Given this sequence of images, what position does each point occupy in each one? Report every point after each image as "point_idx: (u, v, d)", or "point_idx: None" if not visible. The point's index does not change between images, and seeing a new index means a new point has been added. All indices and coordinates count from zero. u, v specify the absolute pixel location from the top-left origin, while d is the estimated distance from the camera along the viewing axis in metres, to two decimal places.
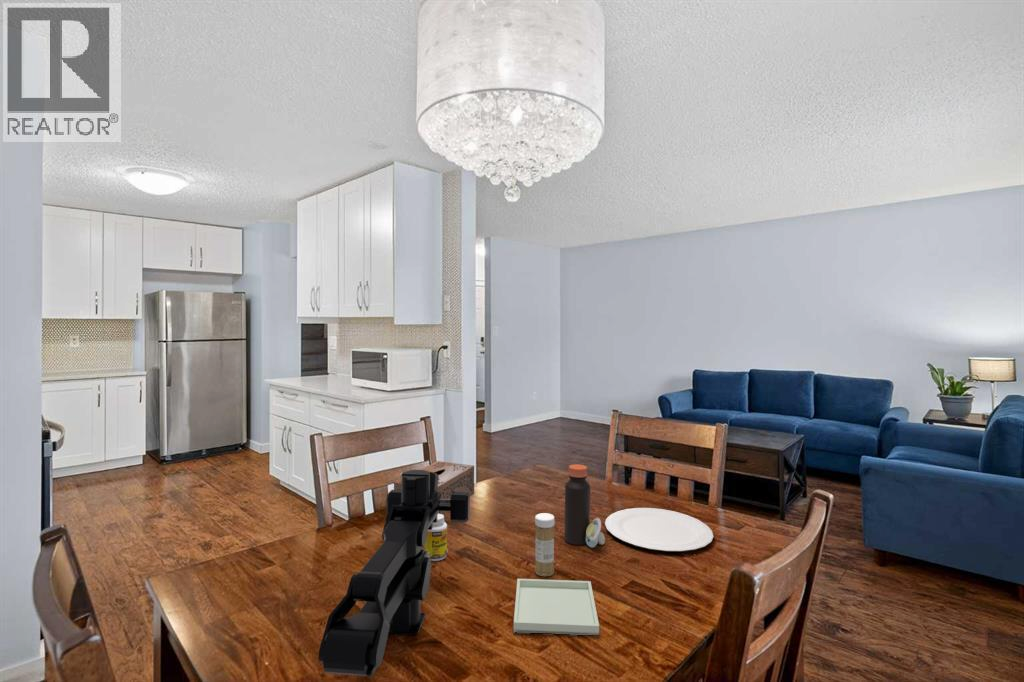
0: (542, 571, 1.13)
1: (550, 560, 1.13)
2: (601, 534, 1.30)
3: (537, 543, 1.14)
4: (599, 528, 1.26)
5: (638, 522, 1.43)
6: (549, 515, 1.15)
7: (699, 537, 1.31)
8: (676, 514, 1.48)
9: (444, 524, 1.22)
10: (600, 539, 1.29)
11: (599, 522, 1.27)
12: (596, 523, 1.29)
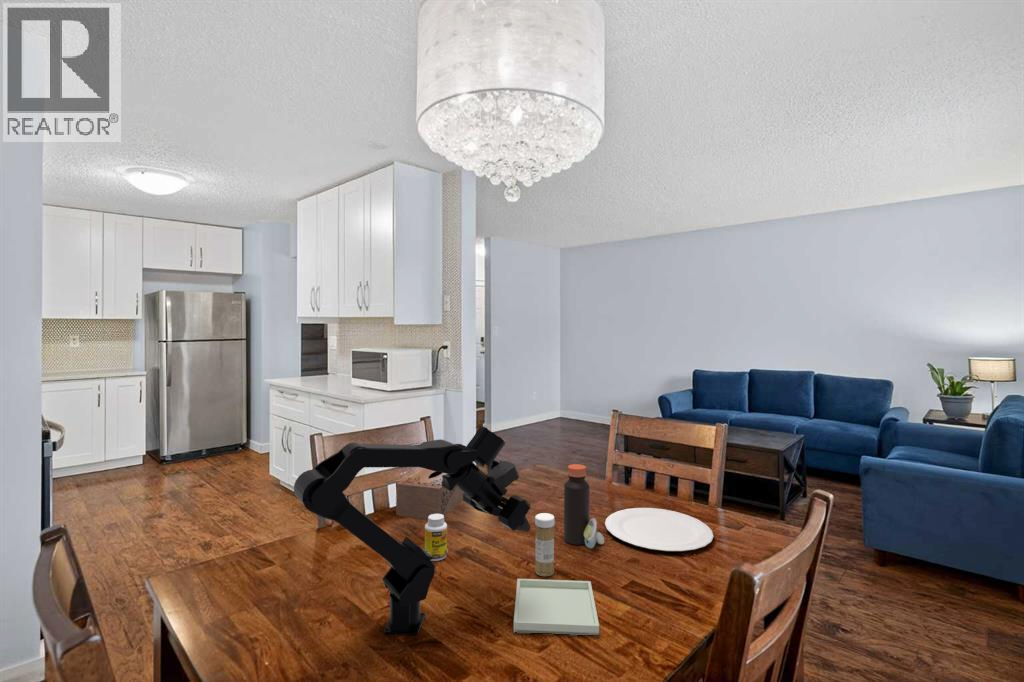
0: (542, 571, 1.13)
1: (550, 560, 1.13)
2: (599, 534, 1.30)
3: (537, 543, 1.14)
4: (595, 527, 1.27)
5: (638, 522, 1.43)
6: (549, 515, 1.15)
7: (699, 537, 1.31)
8: (676, 514, 1.48)
9: (444, 524, 1.22)
10: (599, 539, 1.29)
11: (594, 521, 1.28)
12: (592, 523, 1.30)
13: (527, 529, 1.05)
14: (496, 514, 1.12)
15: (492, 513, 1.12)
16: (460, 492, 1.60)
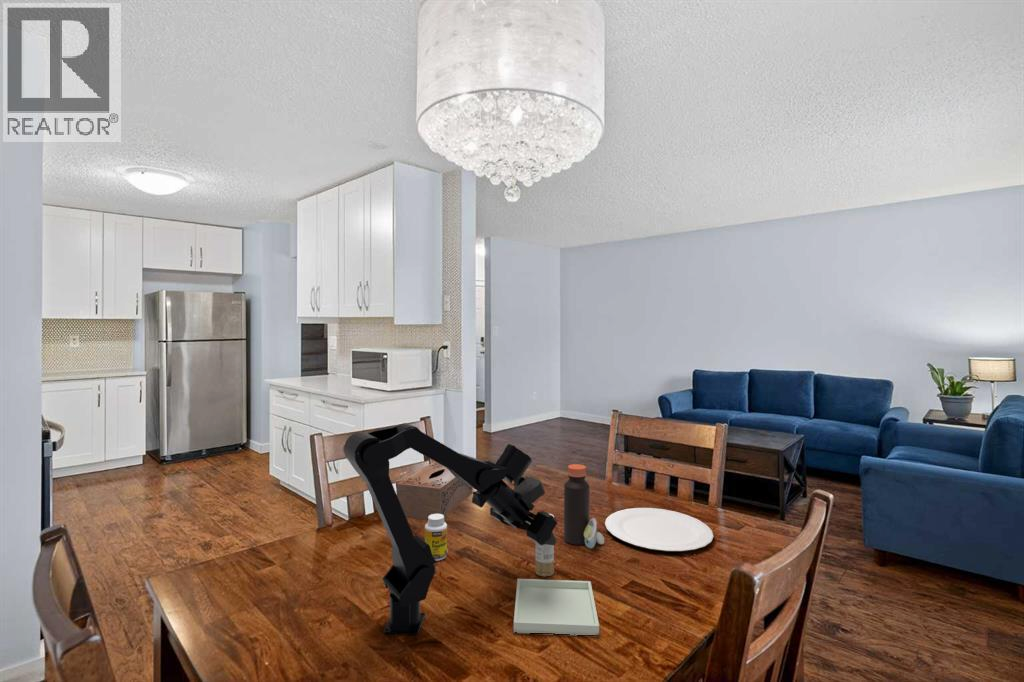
0: (542, 571, 1.13)
1: (550, 560, 1.13)
2: (599, 534, 1.30)
3: (537, 543, 1.14)
4: (595, 527, 1.27)
5: (638, 522, 1.43)
6: None
7: (699, 537, 1.31)
8: (676, 514, 1.48)
9: (444, 524, 1.22)
10: (599, 539, 1.29)
11: (594, 521, 1.28)
12: (592, 523, 1.30)
13: (553, 542, 1.10)
14: (522, 527, 1.17)
15: (518, 527, 1.16)
16: (460, 492, 1.60)
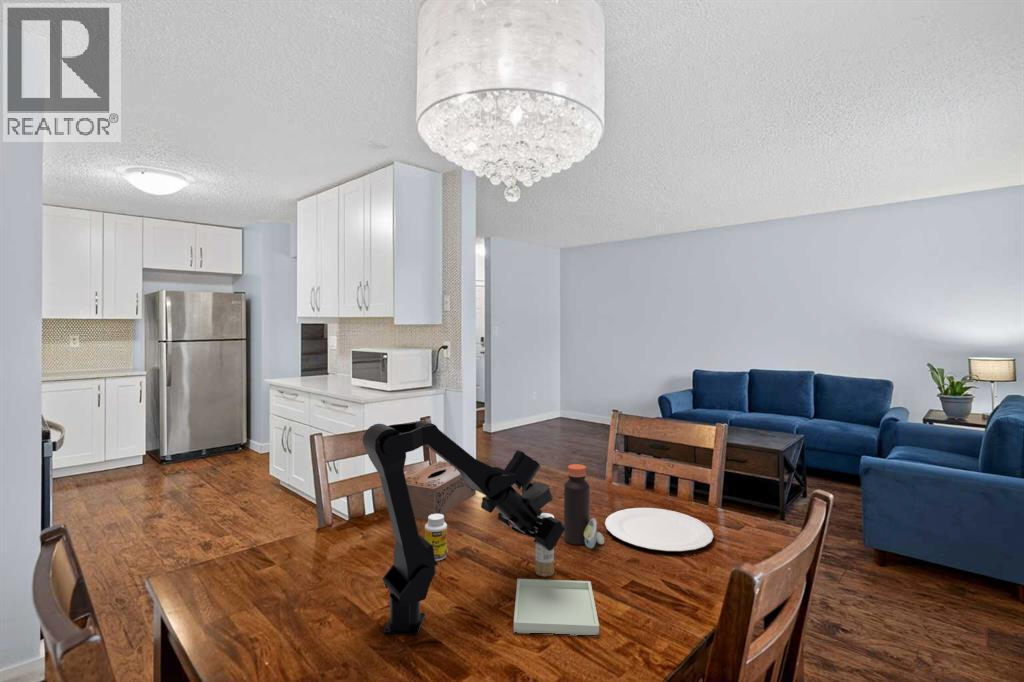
0: (542, 571, 1.13)
1: (550, 560, 1.13)
2: (599, 534, 1.30)
3: None
4: (595, 527, 1.27)
5: (638, 522, 1.43)
6: (549, 515, 1.15)
7: (699, 537, 1.31)
8: (676, 514, 1.48)
9: (444, 524, 1.22)
10: (599, 539, 1.29)
11: (594, 521, 1.28)
12: (592, 523, 1.30)
13: None
14: None
15: (531, 536, 1.16)
16: (460, 493, 1.59)
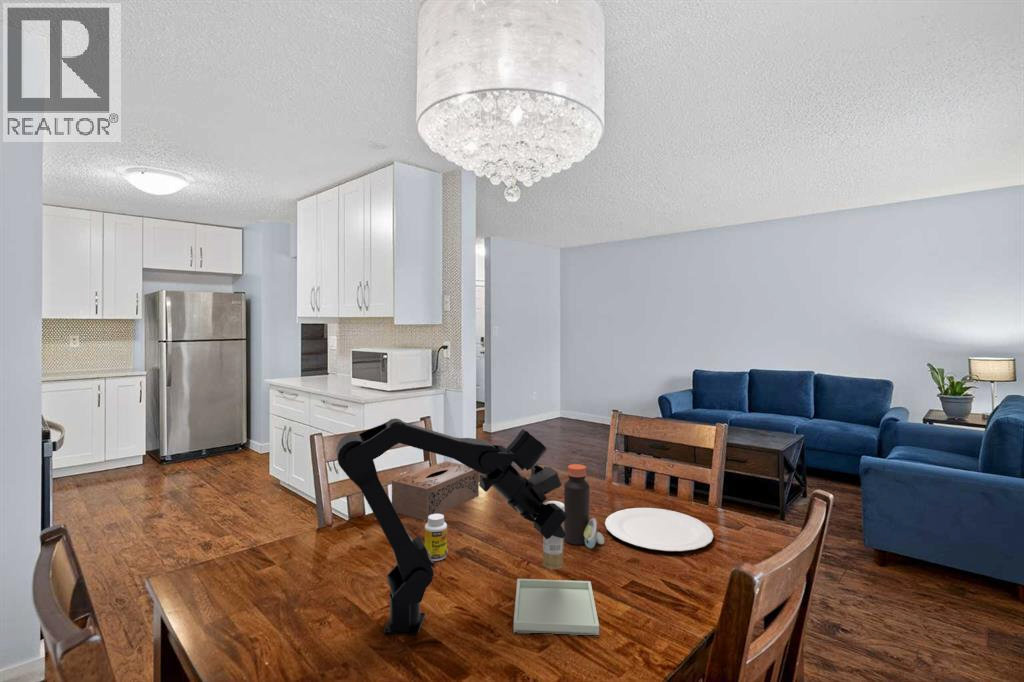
0: (548, 563, 1.05)
1: (558, 552, 1.04)
2: (599, 534, 1.30)
3: None
4: (595, 527, 1.27)
5: (638, 522, 1.43)
6: (559, 503, 1.06)
7: (699, 537, 1.31)
8: (676, 514, 1.48)
9: (444, 524, 1.22)
10: (599, 539, 1.29)
11: (594, 521, 1.28)
12: (592, 523, 1.30)
13: (561, 535, 1.04)
14: None
15: None
16: (459, 494, 1.58)
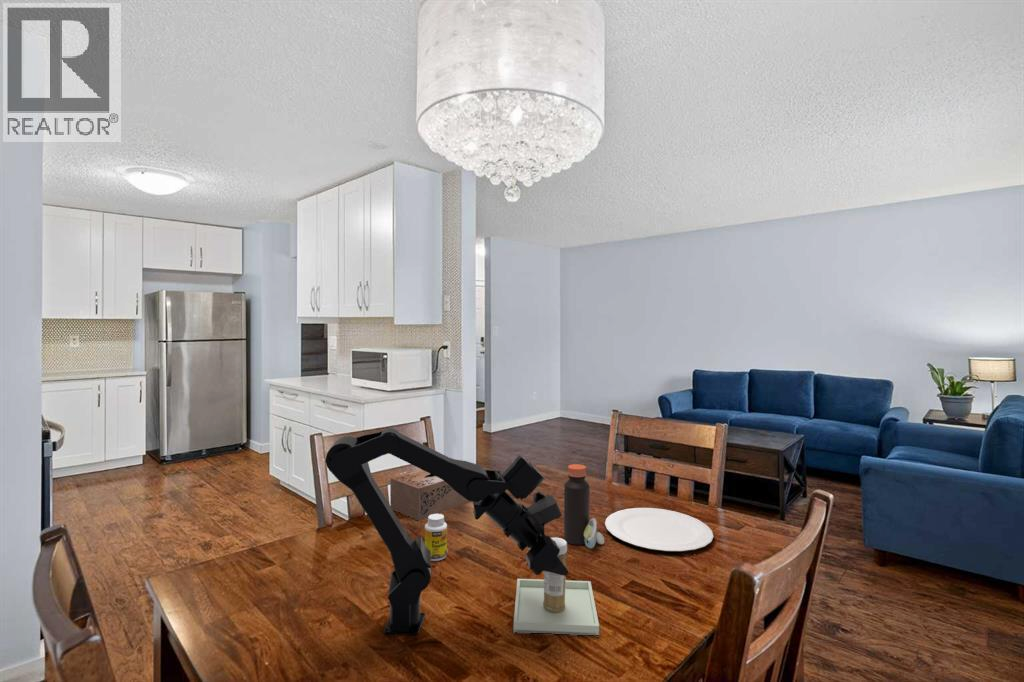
0: (547, 604, 0.98)
1: (557, 593, 0.98)
2: (599, 534, 1.30)
3: (544, 571, 0.99)
4: (595, 527, 1.27)
5: (638, 522, 1.43)
6: (561, 541, 1.00)
7: (699, 537, 1.31)
8: (676, 514, 1.48)
9: (444, 524, 1.22)
10: (599, 539, 1.29)
11: (594, 521, 1.28)
12: (592, 523, 1.30)
13: (563, 572, 0.96)
14: None
15: None
16: (458, 496, 1.56)
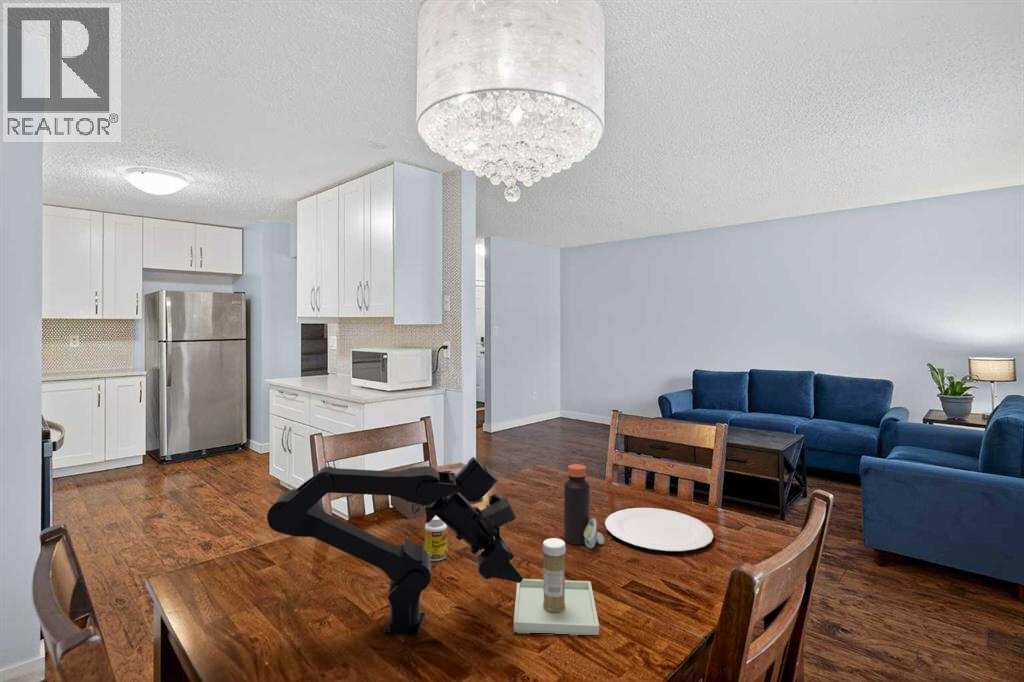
0: (547, 605, 0.98)
1: (557, 594, 0.98)
2: (599, 534, 1.30)
3: None
4: (595, 527, 1.27)
5: (638, 522, 1.43)
6: (560, 542, 0.99)
7: (699, 537, 1.31)
8: (676, 514, 1.48)
9: (444, 524, 1.22)
10: (599, 539, 1.29)
11: (594, 521, 1.28)
12: (592, 523, 1.30)
13: (517, 579, 0.93)
14: None
15: None
16: None
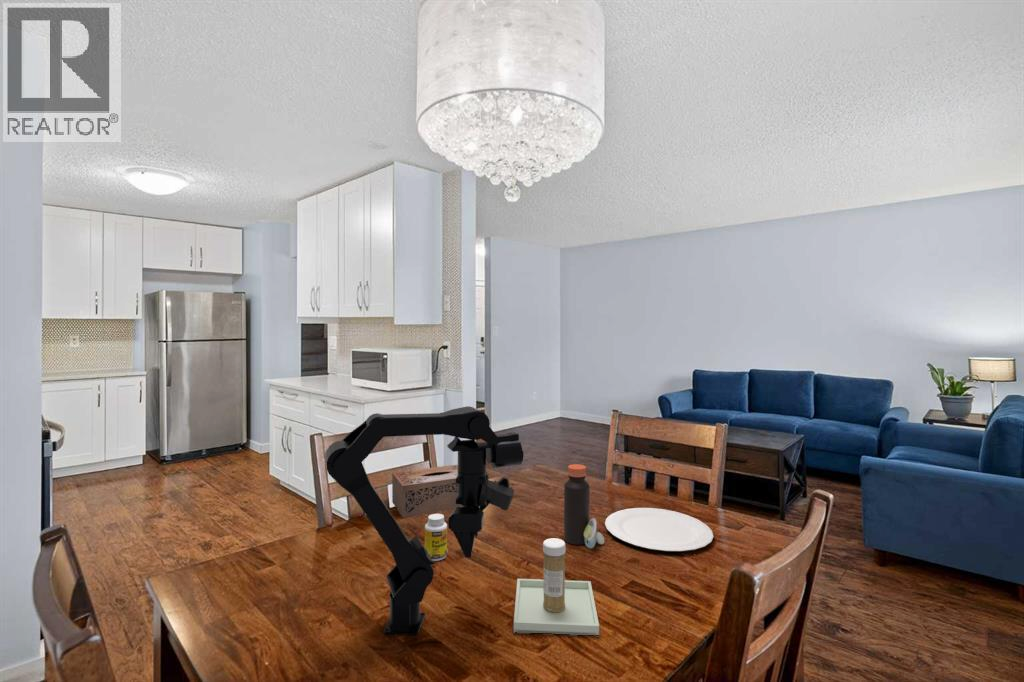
0: (547, 605, 0.98)
1: (557, 594, 0.98)
2: (599, 534, 1.30)
3: None
4: (595, 527, 1.27)
5: (638, 522, 1.43)
6: (560, 542, 0.99)
7: (699, 537, 1.31)
8: (676, 514, 1.48)
9: (444, 524, 1.22)
10: (599, 539, 1.29)
11: (594, 521, 1.28)
12: (592, 523, 1.30)
13: (466, 553, 0.94)
14: None
15: None
16: (452, 498, 1.54)
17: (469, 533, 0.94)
